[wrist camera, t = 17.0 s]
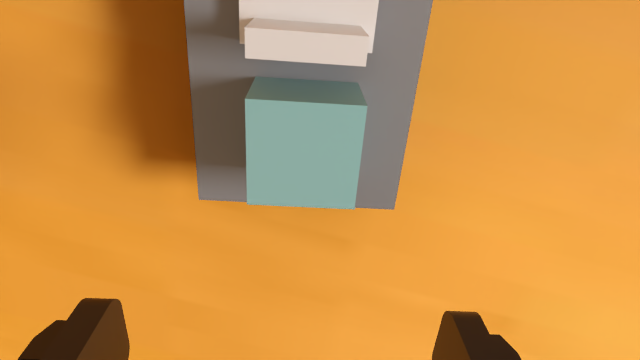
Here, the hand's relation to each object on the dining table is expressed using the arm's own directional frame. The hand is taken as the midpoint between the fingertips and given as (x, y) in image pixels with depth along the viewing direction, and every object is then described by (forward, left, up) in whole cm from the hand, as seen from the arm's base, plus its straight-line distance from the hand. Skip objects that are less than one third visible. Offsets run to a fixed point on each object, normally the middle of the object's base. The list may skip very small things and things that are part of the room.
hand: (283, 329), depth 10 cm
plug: (0, 0, -18) cm, 18 cm away
